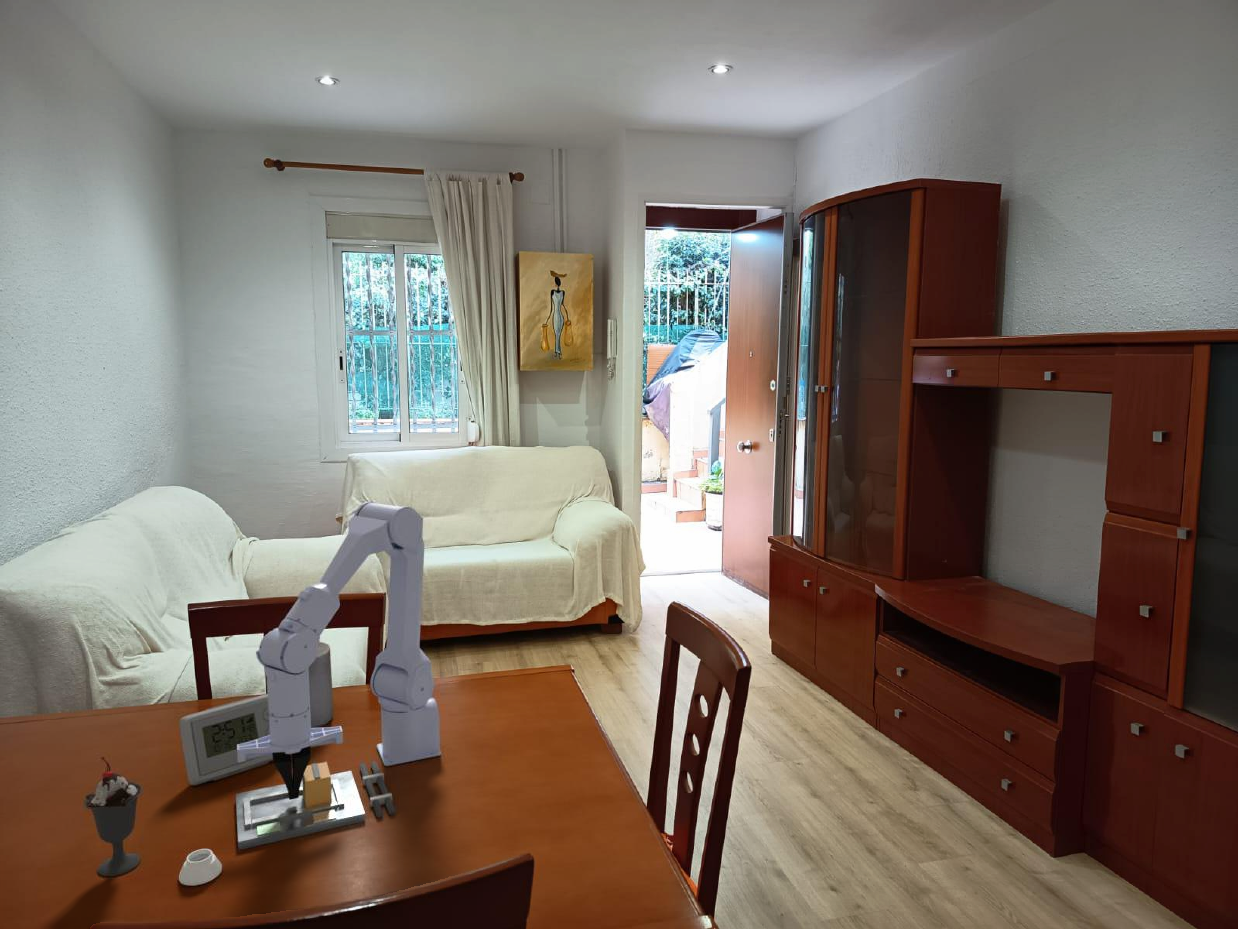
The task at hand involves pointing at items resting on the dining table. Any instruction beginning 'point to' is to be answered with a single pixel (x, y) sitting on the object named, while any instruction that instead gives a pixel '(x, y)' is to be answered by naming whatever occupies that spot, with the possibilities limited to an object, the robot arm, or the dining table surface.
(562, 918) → the dining table surface
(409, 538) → the robot arm
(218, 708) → the digital clock
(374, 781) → the cable bundle
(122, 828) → the sundae
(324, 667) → the pillar candle
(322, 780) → the cardboard box
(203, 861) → the white hollow cone ring
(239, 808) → the grey metal tray
